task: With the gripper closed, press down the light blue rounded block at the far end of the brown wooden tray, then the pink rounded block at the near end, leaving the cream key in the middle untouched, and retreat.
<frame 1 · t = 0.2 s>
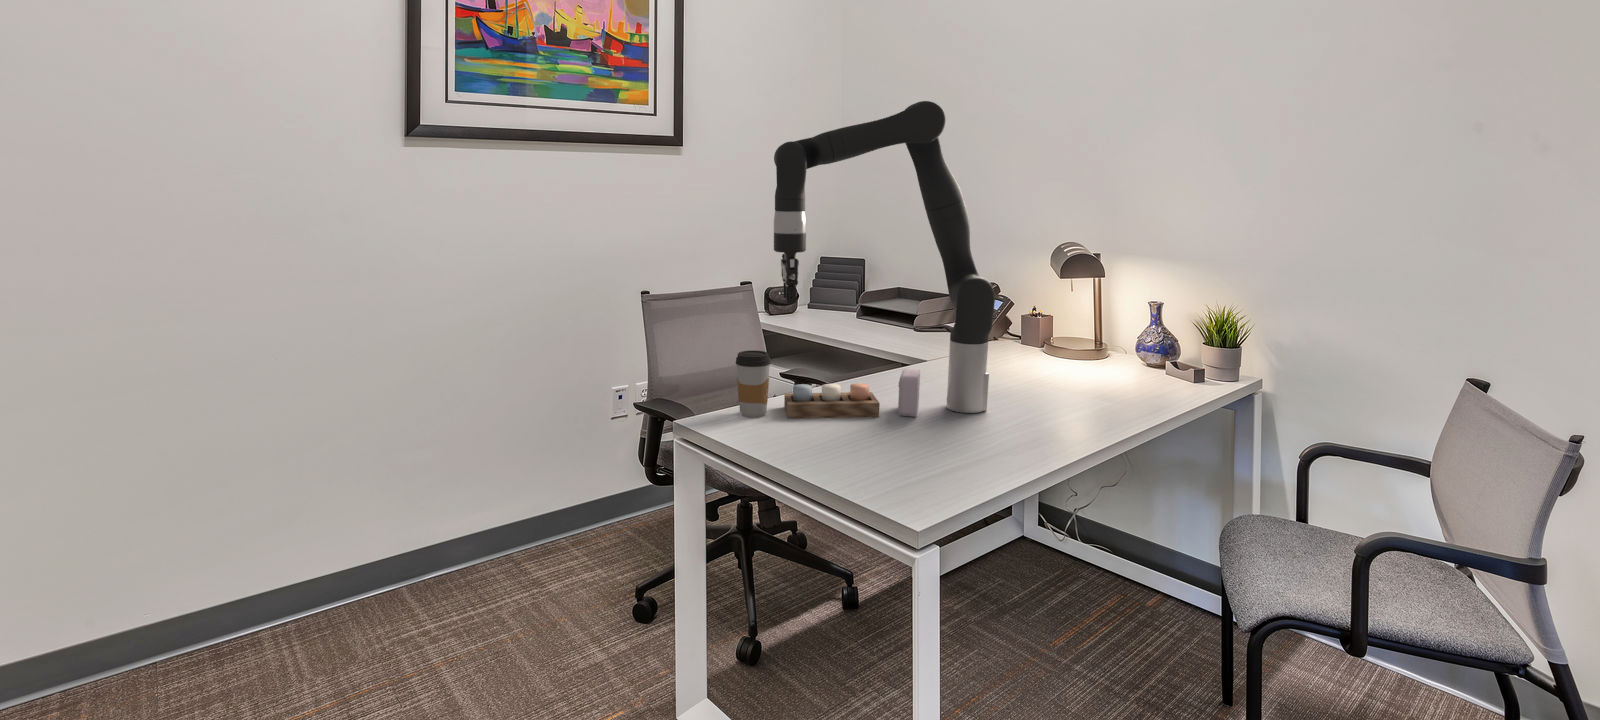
hand: (789, 300, 186), 27 cm above the table, fingers open, 8 cm apart
pink rounded block: (859, 392, 192), point 5 cm above the table, slide at 0.0 cm
brown wooden tray: (830, 411, 192), on the table
cream key: (831, 392, 191), point 5 cm above the table, slide at 0.0 cm
coffee cup: (753, 415, 190), on the table
electronic device: (907, 412, 193), on the table
light blue rounded block: (802, 392, 191), point 5 cm above the table, slide at 0.0 cm
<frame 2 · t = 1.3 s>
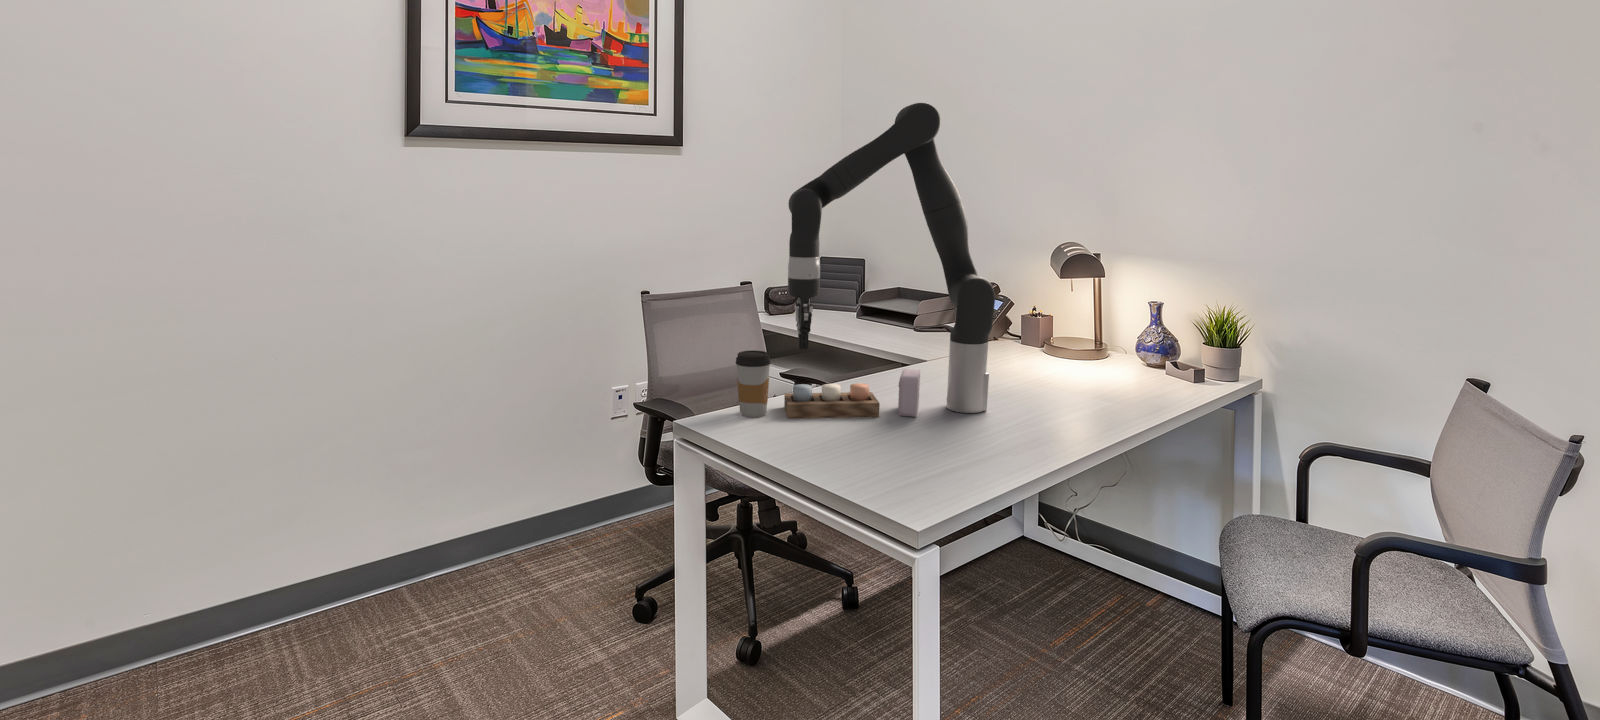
hand: (803, 348, 188), 16 cm above the table, fingers closed
nothing on the table moved.
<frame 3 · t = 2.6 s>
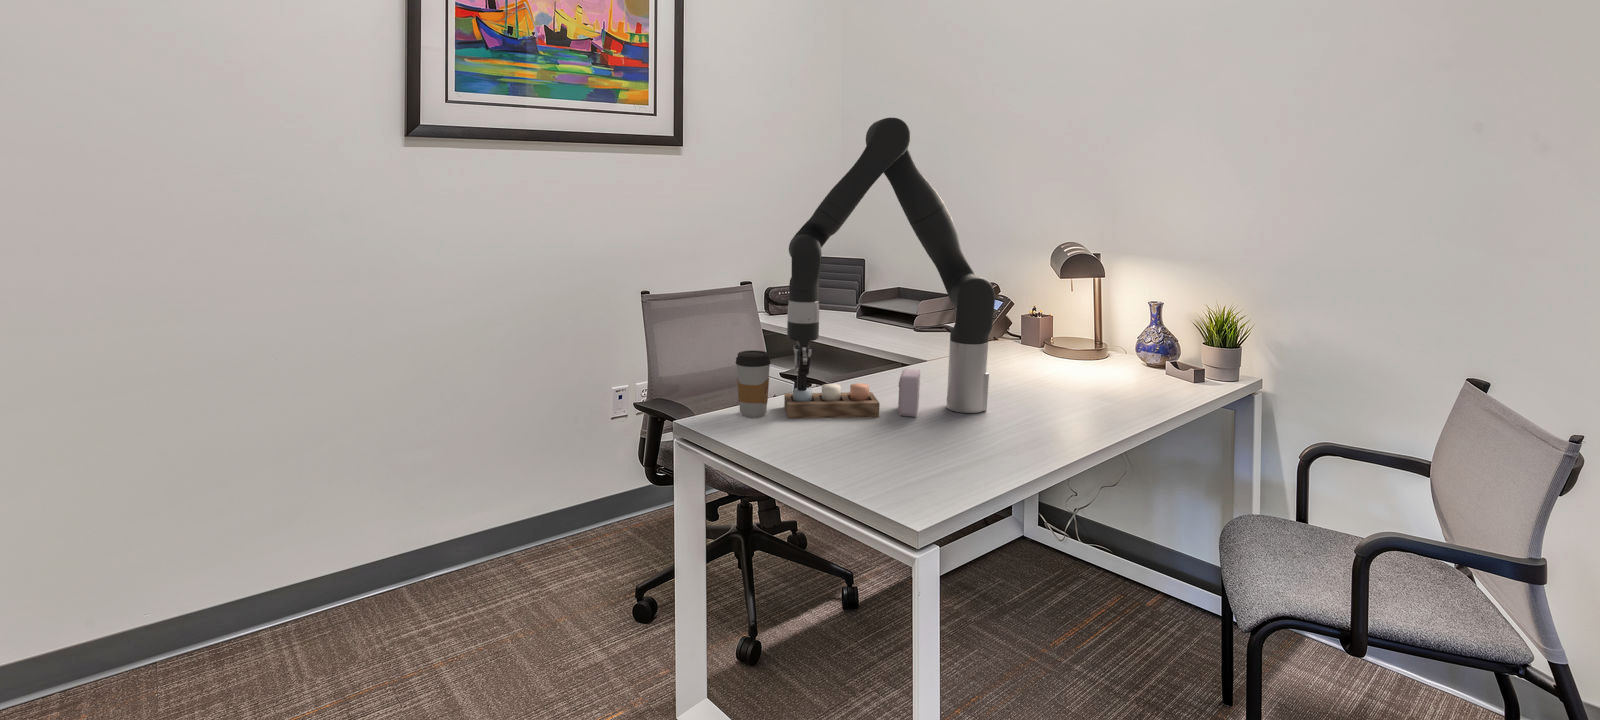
hand: (801, 389, 190), 6 cm above the table, fingers closed
light blue rounded block: (802, 396, 191), point 4 cm above the table, slide at 0.8 cm, touching gripper
everything else where it was.
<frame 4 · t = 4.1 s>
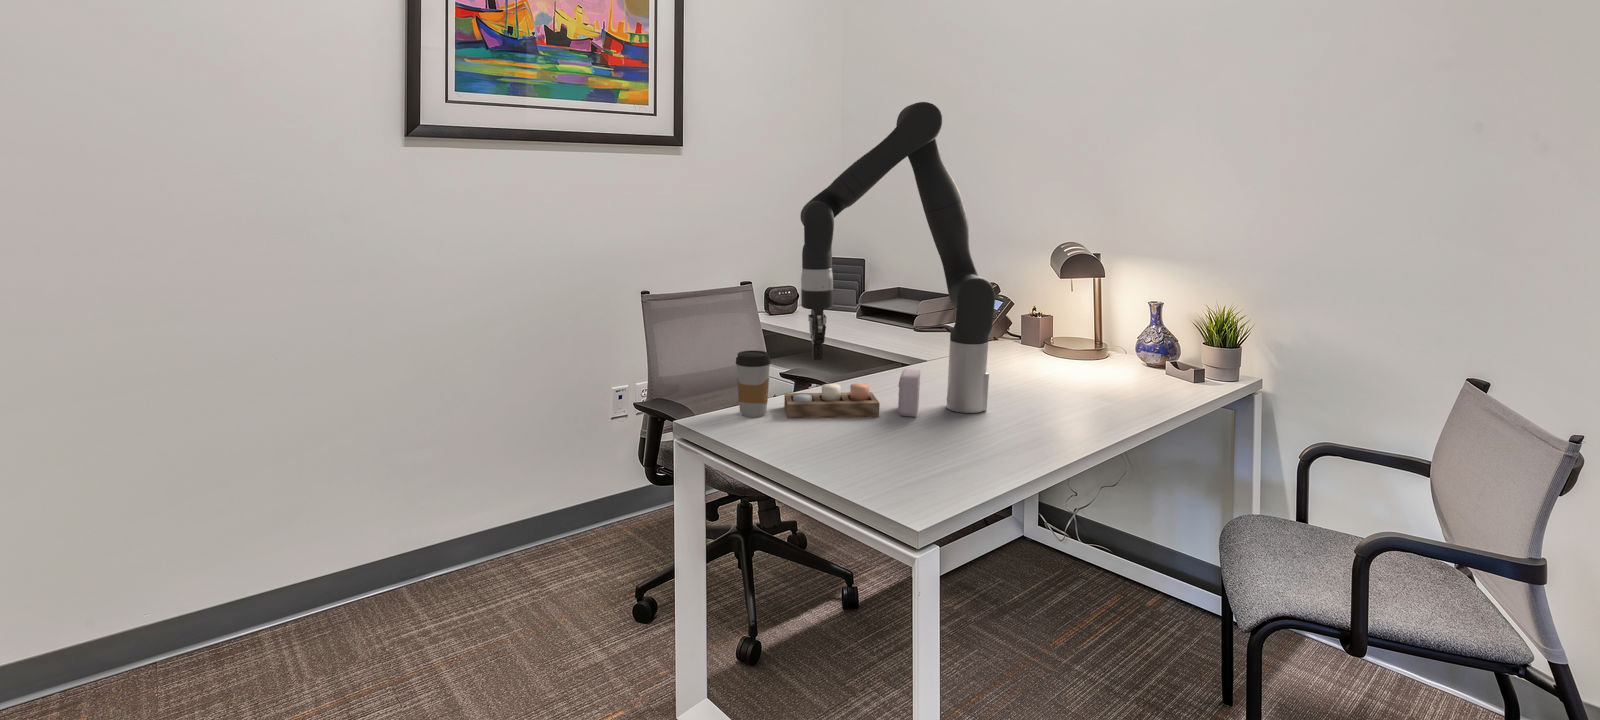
hand: (817, 359, 189), 13 cm above the table, fingers closed
light blue rounded block: (802, 402, 191), point 2 cm above the table, slide at 2.5 cm
everything else where it was.
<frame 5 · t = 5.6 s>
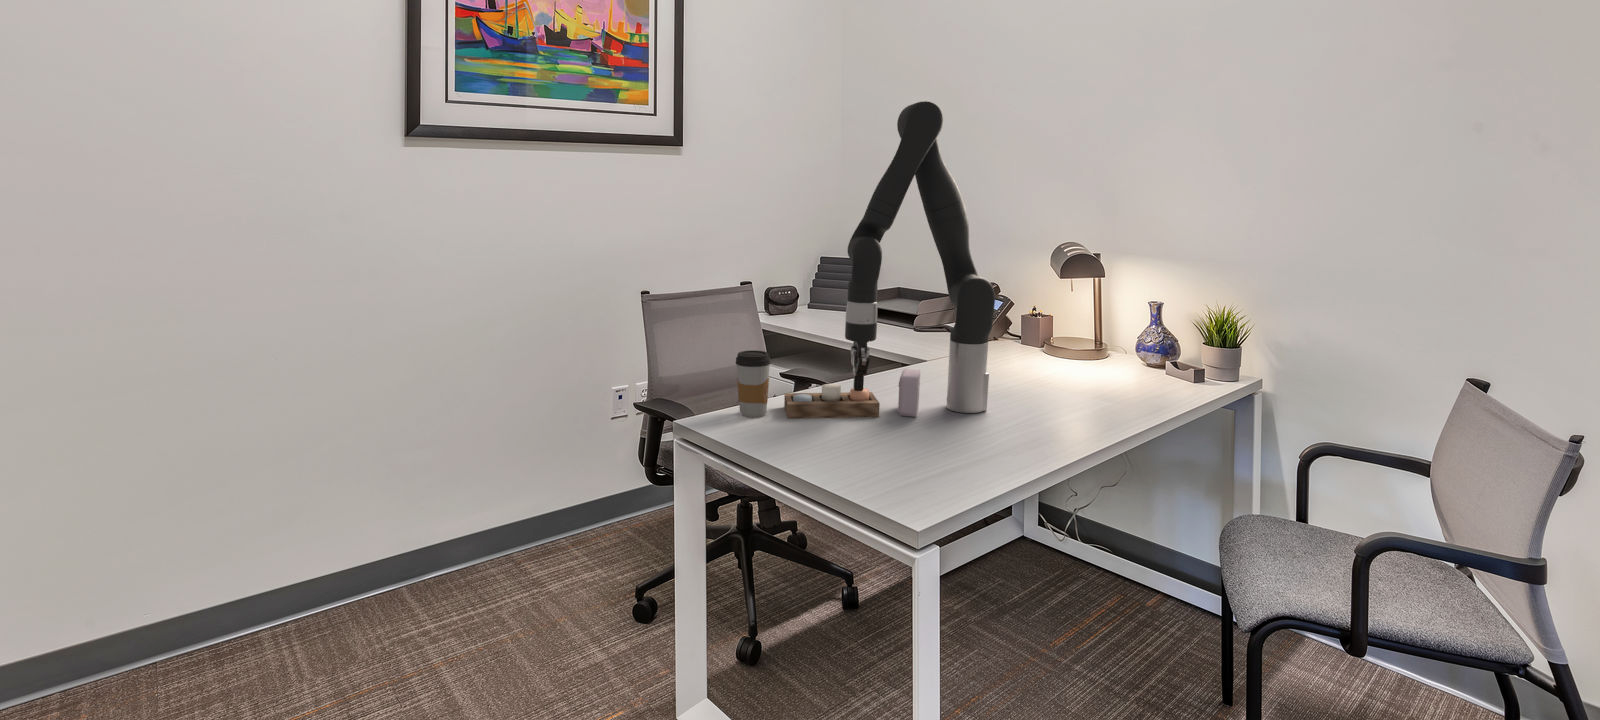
hand: (858, 390, 192), 5 cm above the table, fingers closed
pink rounded block: (859, 396, 192), point 4 cm above the table, slide at 1.1 cm, touching gripper
everything else where it was.
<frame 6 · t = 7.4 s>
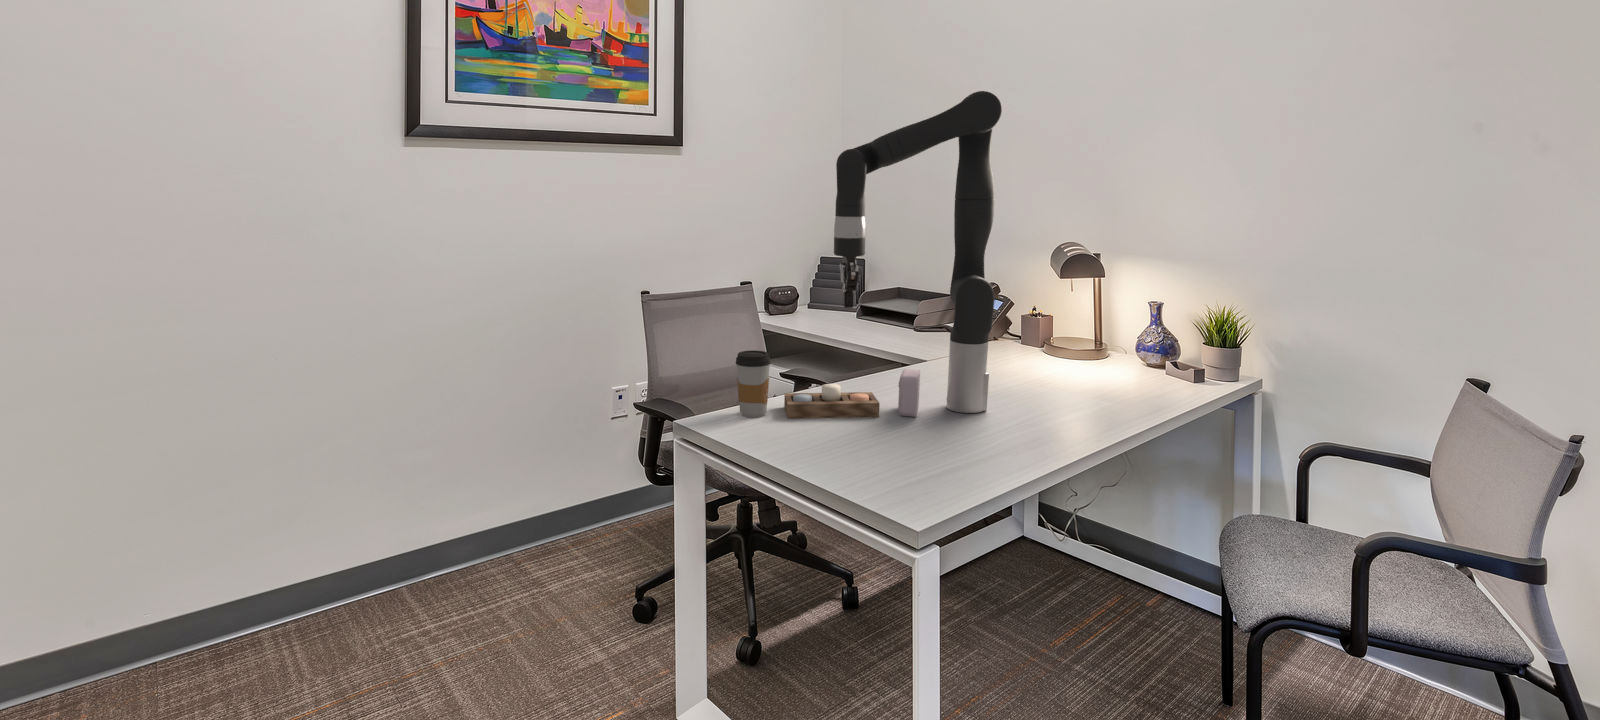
hand: (848, 307, 192), 25 cm above the table, fingers closed
pink rounded block: (859, 402, 192), point 2 cm above the table, slide at 2.5 cm
everything else where it was.
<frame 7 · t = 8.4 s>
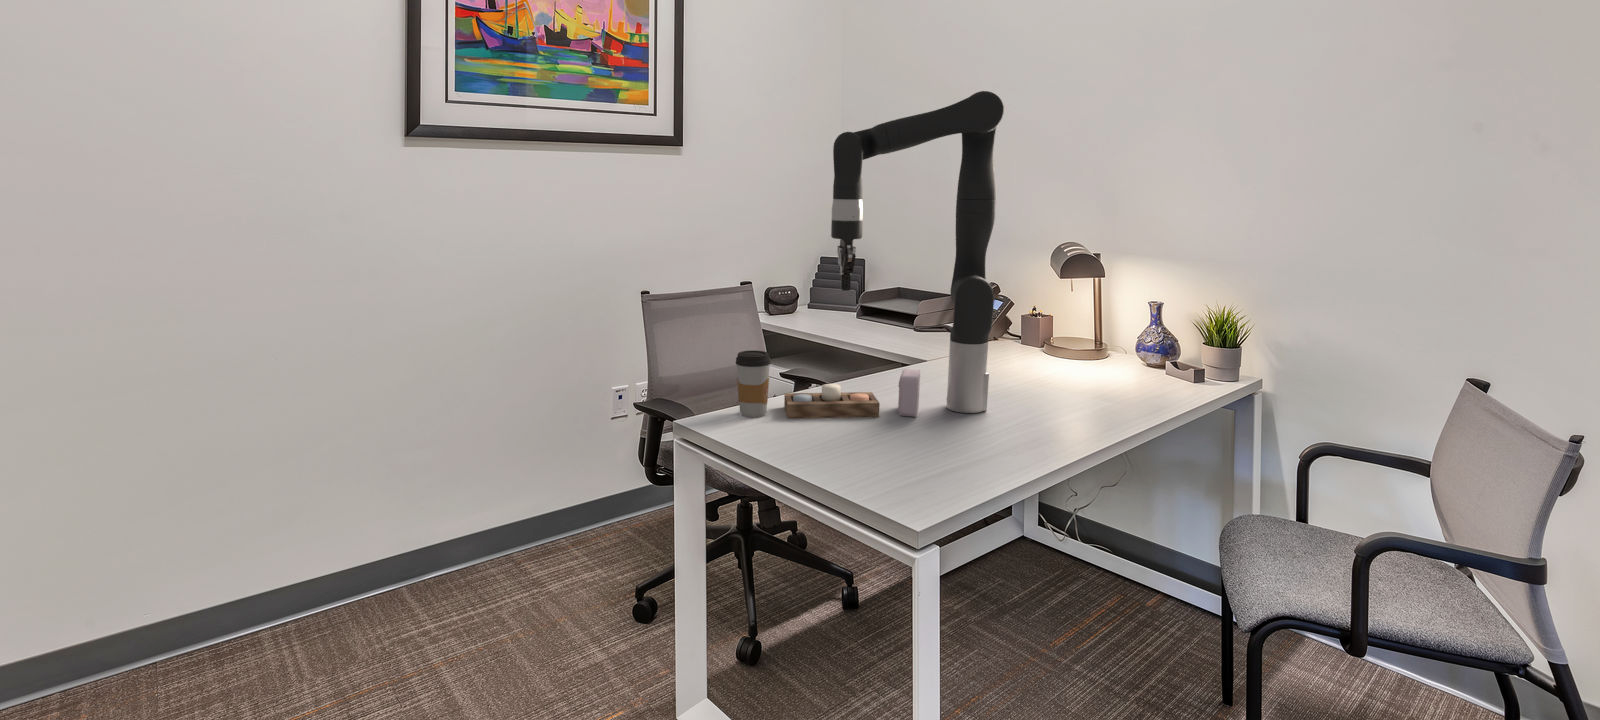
hand: (845, 290, 193), 29 cm above the table, fingers closed
nothing on the table moved.
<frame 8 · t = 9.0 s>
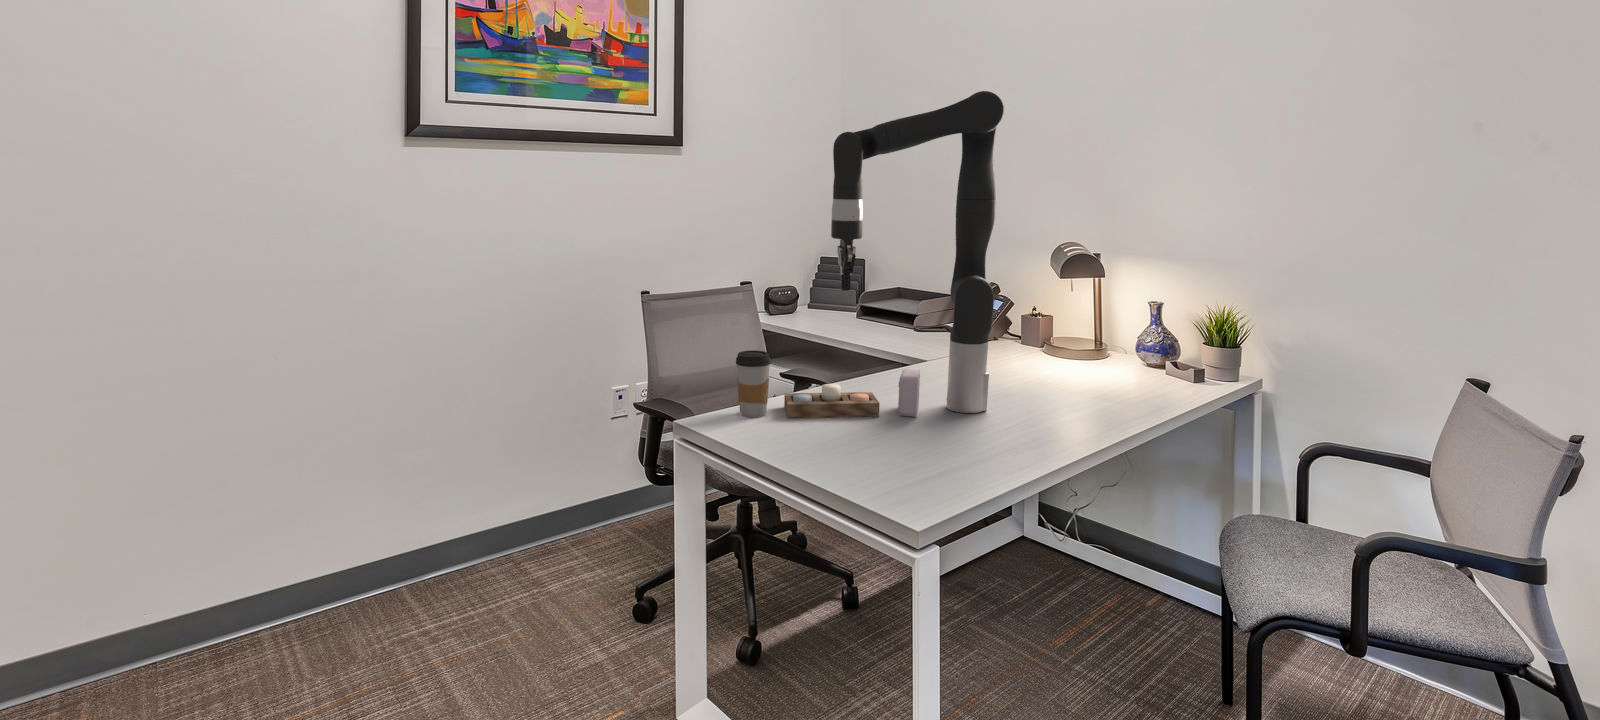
hand: (845, 290, 193), 29 cm above the table, fingers closed
nothing on the table moved.
at the end: light blue rounded block slide at 2.5 cm; pink rounded block slide at 2.5 cm; cream key slide at 0.0 cm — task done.
